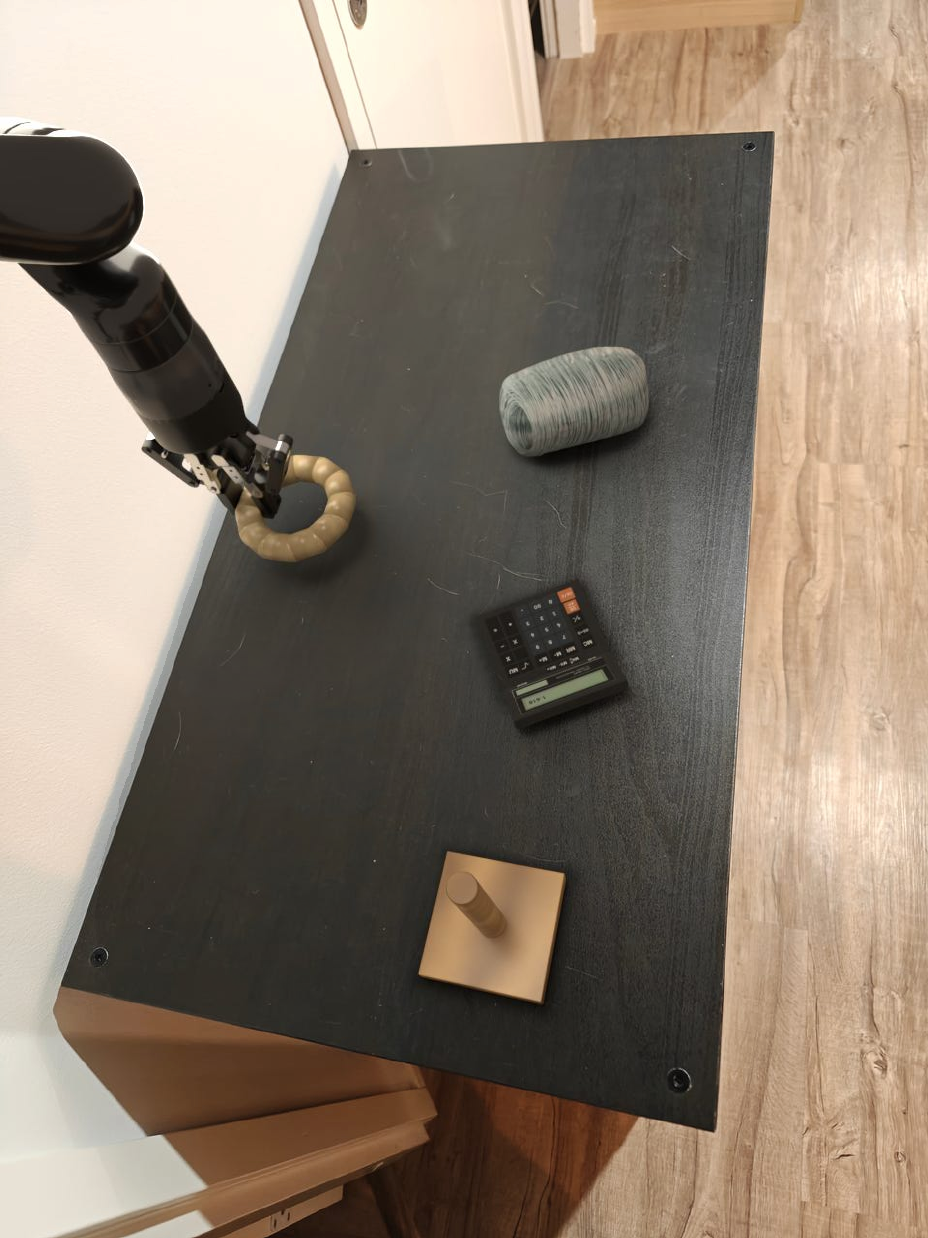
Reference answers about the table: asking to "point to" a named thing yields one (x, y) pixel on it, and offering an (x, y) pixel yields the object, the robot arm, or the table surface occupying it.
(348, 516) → the segmented beige ring
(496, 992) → the wooden peg stand
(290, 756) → the table surface
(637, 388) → the spool
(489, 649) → the calculator
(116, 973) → the table surface
